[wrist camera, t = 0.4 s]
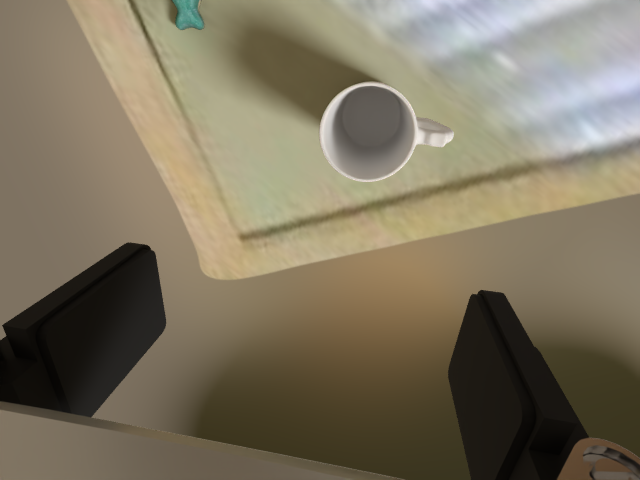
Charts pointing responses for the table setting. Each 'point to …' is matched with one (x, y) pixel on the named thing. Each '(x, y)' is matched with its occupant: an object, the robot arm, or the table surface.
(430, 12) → the table surface
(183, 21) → the whale figurine
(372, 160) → the mug
